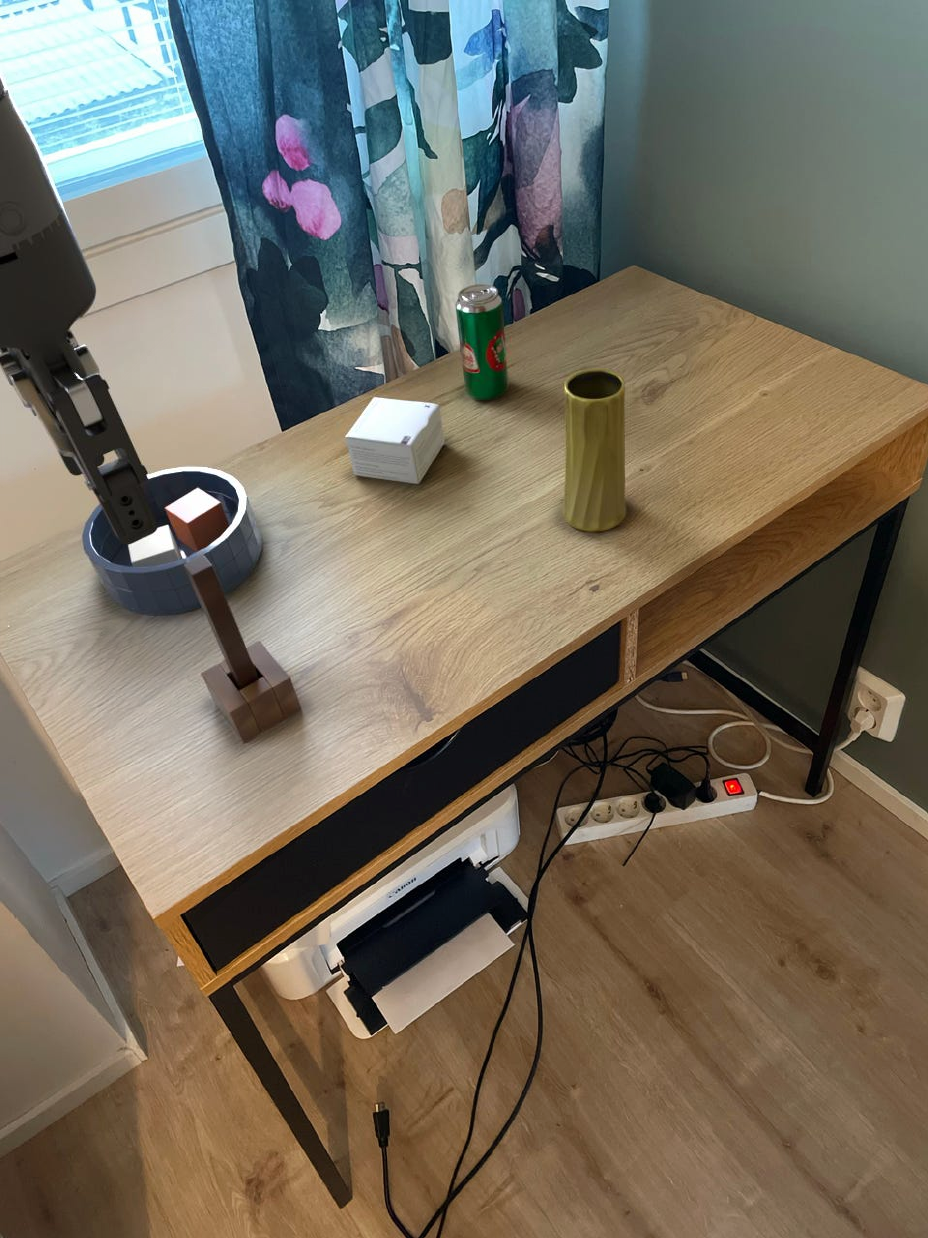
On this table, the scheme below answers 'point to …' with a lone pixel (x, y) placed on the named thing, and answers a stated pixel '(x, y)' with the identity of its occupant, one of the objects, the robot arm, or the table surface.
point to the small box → (395, 440)
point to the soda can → (482, 341)
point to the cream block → (155, 549)
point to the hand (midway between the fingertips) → (112, 500)
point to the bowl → (169, 582)
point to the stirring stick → (221, 620)
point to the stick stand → (253, 694)
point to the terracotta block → (197, 519)
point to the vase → (595, 450)
